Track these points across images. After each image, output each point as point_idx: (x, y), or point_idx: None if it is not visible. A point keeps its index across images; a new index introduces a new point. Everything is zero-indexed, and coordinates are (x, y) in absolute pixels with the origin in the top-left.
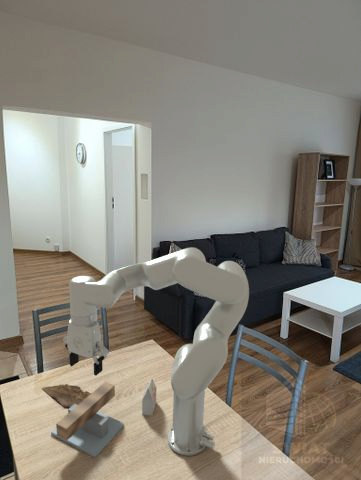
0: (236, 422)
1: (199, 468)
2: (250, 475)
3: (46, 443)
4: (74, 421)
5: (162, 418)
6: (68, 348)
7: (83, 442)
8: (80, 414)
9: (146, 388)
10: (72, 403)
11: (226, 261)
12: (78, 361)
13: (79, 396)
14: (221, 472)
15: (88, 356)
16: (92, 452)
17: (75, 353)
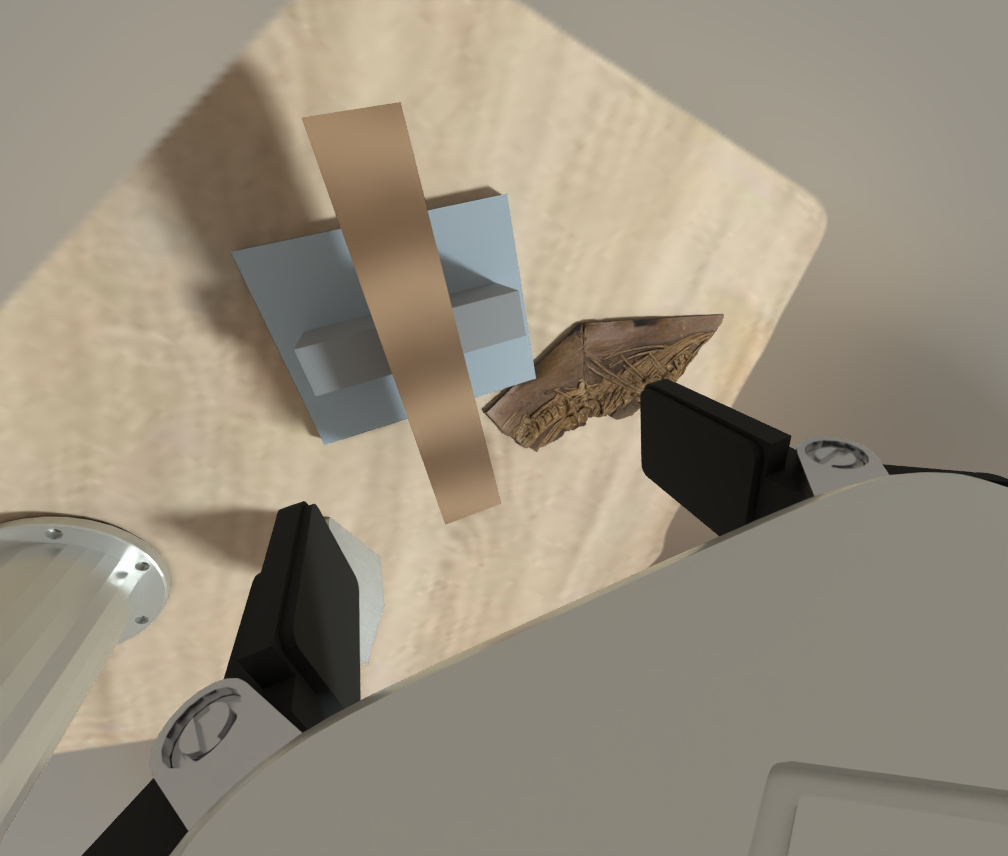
0: None
1: None
2: None
3: (472, 146)
4: (334, 207)
5: (253, 561)
6: (992, 495)
7: (342, 259)
8: (367, 274)
9: (363, 606)
10: (574, 355)
11: None
12: (644, 471)
13: (583, 394)
14: None
15: (251, 825)
16: (253, 252)
17: (729, 539)
